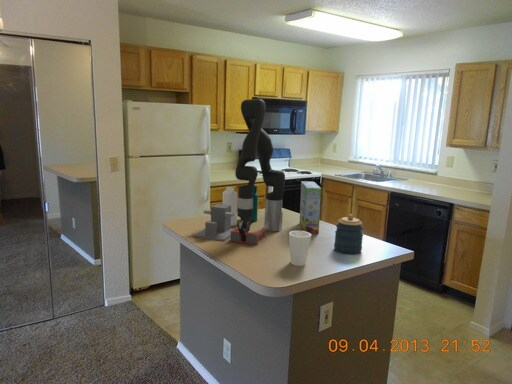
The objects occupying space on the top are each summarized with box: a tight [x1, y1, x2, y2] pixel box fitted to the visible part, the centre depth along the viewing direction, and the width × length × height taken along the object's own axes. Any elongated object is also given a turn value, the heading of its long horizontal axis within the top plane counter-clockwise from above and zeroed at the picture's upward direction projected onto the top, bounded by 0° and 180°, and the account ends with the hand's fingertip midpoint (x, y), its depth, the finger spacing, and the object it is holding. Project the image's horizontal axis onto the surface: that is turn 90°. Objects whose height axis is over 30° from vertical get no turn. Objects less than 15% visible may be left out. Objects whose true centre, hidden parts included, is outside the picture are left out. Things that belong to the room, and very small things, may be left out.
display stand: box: [193, 203, 235, 242], centre depth 198 cm, size 19×17×14 cm
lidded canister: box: [333, 214, 365, 255], centre depth 181 cm, size 13×13×18 cm
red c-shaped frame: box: [229, 226, 267, 246], centre depth 193 cm, size 14×14×5 cm
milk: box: [222, 186, 238, 227], centre depth 216 cm, size 6×6×22 cm
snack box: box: [299, 180, 322, 235], centre depth 215 cm, size 22×9×26 cm, turn 2°
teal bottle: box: [250, 184, 259, 223], centre depth 228 cm, size 10×8×22 cm
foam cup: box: [288, 230, 312, 267], centre depth 162 cm, size 10×9×13 cm
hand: (244, 241), depth 187 cm, fingers closed on red c-shaped frame, 1 cm apart
